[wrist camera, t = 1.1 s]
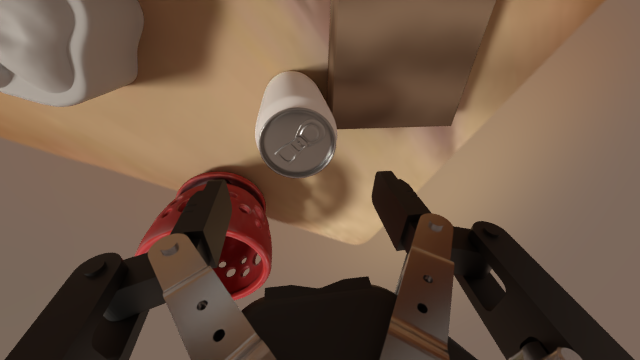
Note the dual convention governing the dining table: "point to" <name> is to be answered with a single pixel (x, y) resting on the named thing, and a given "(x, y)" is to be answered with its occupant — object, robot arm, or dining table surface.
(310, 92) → the can
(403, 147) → the dining table surface
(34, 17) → the lumpy-topped squat cylinder
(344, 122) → the walnut stand
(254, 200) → the plant pot
